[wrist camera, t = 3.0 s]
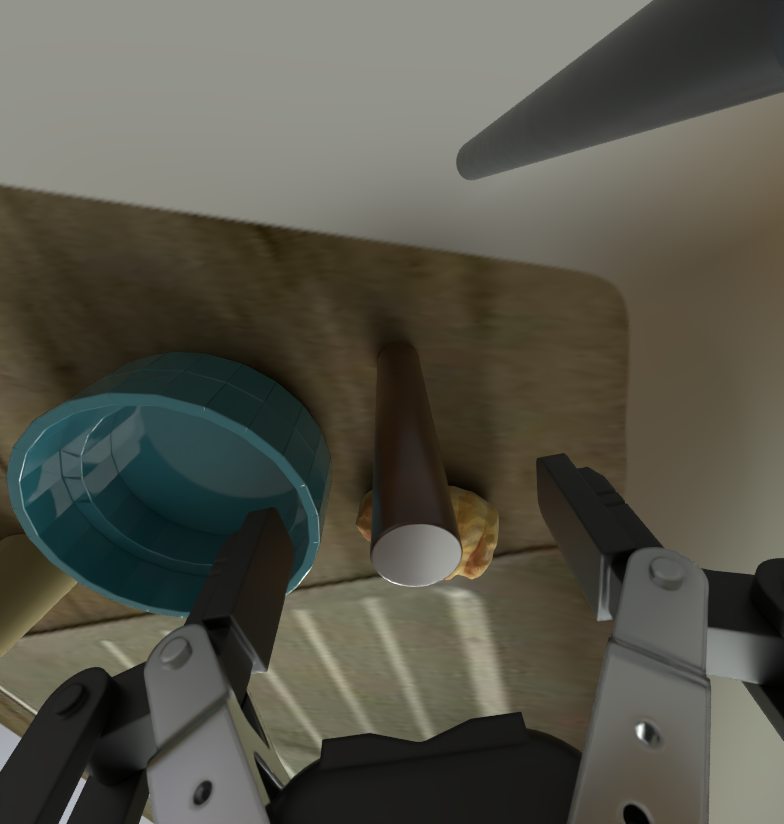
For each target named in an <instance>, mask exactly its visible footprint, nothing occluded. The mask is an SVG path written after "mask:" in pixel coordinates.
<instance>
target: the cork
mask: <svg viewBox="0 0 784 824" xmlns="http://www.w3.org/2000/svg"><path fill="white" fill-rule="evenodd" d="M77 583H78V582H77V581H76V580H74V579H73V578H71V577H70V576H69V575H67V574H66V573H65V572H63V571H62V570H61V569H59V568H58V567H56V566H55V565H54V564H52V562H50V561H49V560H48V559H47V558H46V557H45V556H44V554H43V553H42V552H41V551H40V550H39V549H38V548H37V547H36V546H35V545H34V544H33V542H32V541H31V540H30V539H29V538H28V536H27V535H26V534H17V535H12V536H8V537H6V538H4V539H2V540H1V541H0V658H1V657H2V656H3V655H4V654H5V653H6V652H7V651H8V650H9V649H10V648H11V647H12V646H13V645H14V644H15V643H16V642H17V641H18V640H19V639H20V638H21V637H22V636H23V635H24V634H25V633H26V632H27V631H28V630H29V629H30V628H31V627H32V626H33V625H35V624H36V623H37V622H38V621H39V620H40V619H41V618H42V617H43V616H44V615H45V614H46V613H47V612H48V611H49V610H50V609H51V608H52V607H53V606H54V605H55V604H56V603H57V602H58V601H59V600H60V599H61V598H62V597H63V596H64V595H65V594H66V593H68V592H69V591H70V590H71V589H72V588H73V587H74V586H75V585H76V584H77Z"/></svg>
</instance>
